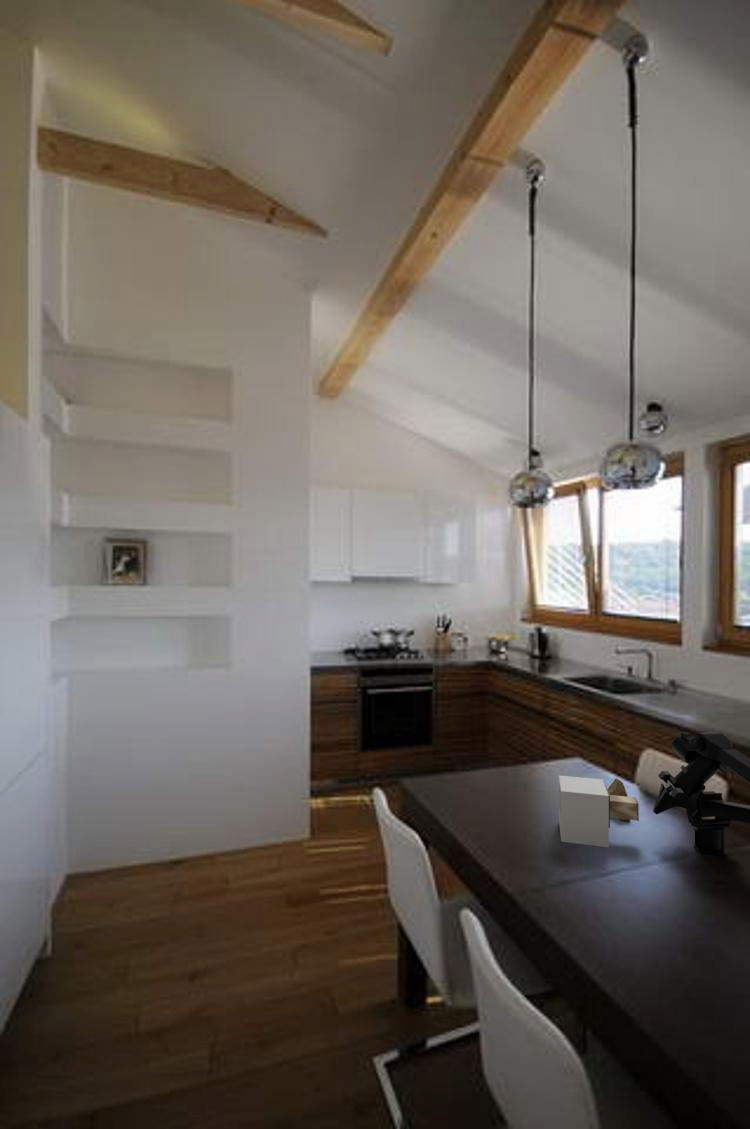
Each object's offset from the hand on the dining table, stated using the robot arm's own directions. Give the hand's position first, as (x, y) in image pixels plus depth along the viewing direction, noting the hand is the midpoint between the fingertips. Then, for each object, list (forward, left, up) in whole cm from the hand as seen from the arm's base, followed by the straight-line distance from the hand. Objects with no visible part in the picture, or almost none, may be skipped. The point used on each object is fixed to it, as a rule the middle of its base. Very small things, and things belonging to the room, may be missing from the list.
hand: (654, 812), depth 155 cm
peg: (+11, +1, -1) cm, 11 cm away
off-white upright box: (+19, +1, -8) cm, 20 cm away
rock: (+8, -16, -8) cm, 20 cm away
